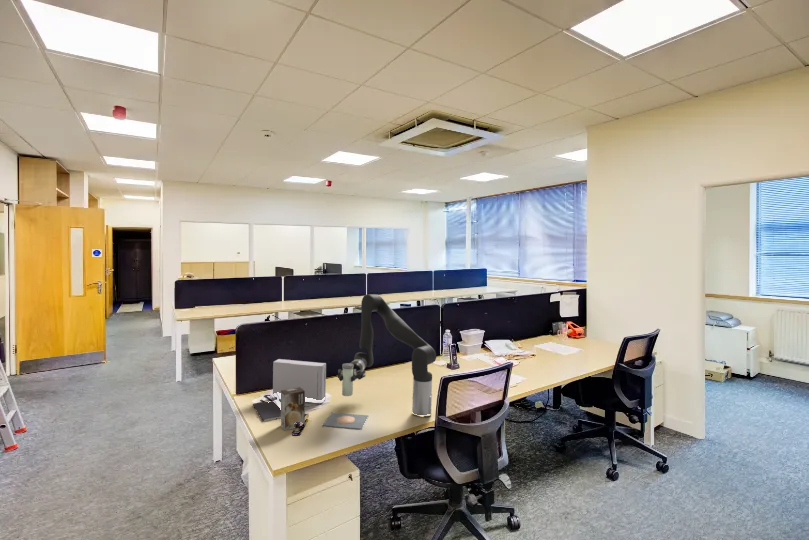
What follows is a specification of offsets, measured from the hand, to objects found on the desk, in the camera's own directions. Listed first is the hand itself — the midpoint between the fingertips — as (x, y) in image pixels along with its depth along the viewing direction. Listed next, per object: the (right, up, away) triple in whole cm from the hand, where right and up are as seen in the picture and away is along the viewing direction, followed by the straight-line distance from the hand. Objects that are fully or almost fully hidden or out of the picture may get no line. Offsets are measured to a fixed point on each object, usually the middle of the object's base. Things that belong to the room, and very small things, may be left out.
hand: (346, 379), depth 176 cm
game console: (-29, -18, +25) cm, 42 cm away
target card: (0, -20, +1) cm, 20 cm away
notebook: (-38, -19, +11) cm, 44 cm away
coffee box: (-23, -20, -5) cm, 31 cm away
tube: (0, -8, +3) cm, 8 cm away
